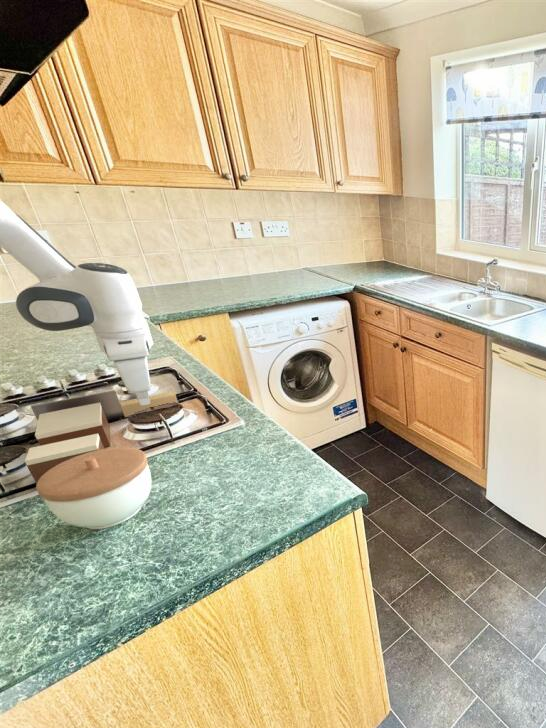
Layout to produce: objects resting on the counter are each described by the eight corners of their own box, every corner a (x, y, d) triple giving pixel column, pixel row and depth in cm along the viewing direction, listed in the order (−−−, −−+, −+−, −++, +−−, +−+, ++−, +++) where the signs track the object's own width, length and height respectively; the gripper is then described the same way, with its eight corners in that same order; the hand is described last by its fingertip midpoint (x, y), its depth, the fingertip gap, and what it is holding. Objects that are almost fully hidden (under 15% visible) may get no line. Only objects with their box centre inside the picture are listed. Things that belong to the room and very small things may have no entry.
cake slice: (38, 489, 73) (24, 460, 71) (43, 475, 77) (29, 447, 74) (107, 471, 79) (96, 444, 76) (109, 459, 82) (98, 433, 79)
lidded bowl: (126, 542, 64) (100, 484, 60) (35, 543, 63) (2, 484, 58) (178, 488, 76) (160, 437, 71) (102, 488, 74) (79, 436, 70)
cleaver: (43, 435, 88) (30, 408, 85) (44, 430, 89) (31, 403, 87) (178, 405, 102) (171, 381, 99) (177, 402, 104) (170, 378, 101)
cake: (47, 461, 80) (34, 435, 78) (51, 439, 87) (39, 414, 84) (110, 446, 86) (100, 420, 83) (109, 426, 92) (100, 402, 90)
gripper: (105, 329, 97) (124, 383, 102) (106, 356, 83) (128, 417, 89) (141, 325, 101) (157, 377, 106) (147, 351, 87) (165, 409, 93)
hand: (144, 395), depth 98 cm, fingers open, 8 cm apart
